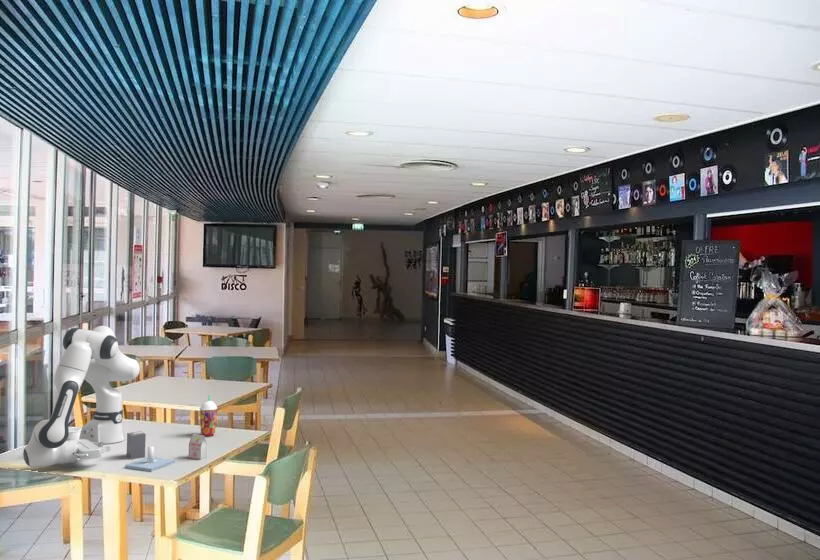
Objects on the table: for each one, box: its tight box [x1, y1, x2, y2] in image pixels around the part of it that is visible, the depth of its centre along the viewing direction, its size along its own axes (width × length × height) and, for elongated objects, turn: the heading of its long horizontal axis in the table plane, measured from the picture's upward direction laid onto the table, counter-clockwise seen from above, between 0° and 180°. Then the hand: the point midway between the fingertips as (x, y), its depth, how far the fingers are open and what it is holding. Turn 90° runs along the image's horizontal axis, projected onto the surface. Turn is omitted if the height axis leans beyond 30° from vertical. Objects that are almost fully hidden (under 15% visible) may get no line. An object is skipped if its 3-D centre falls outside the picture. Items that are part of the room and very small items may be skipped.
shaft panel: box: [124, 446, 176, 473], centre depth 262 cm, size 13×14×8 cm
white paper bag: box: [188, 433, 208, 461], centre depth 275 cm, size 4×7×10 cm, turn 66°
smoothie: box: [199, 394, 218, 438], centre depth 314 cm, size 8×8×20 cm
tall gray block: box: [126, 430, 147, 460], centre depth 274 cm, size 6×6×10 cm
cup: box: [67, 426, 82, 440], centre depth 274 cm, size 10×10×11 cm
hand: (106, 446), depth 266 cm, fingers open, 8 cm apart
